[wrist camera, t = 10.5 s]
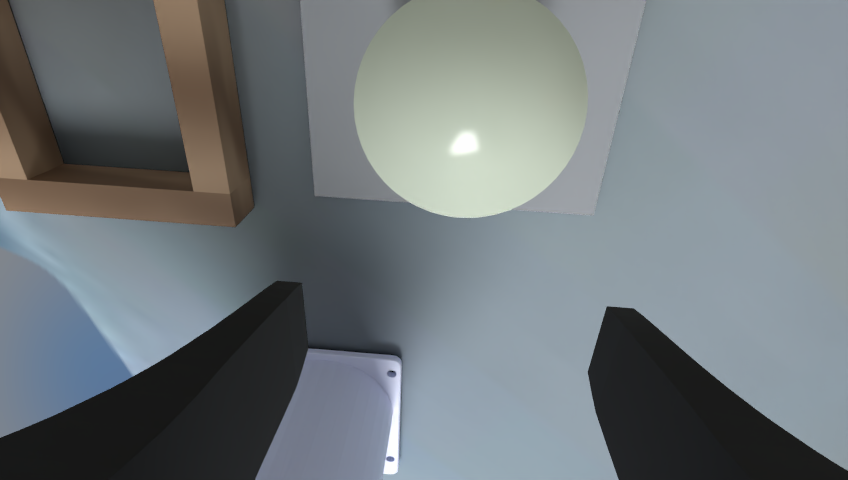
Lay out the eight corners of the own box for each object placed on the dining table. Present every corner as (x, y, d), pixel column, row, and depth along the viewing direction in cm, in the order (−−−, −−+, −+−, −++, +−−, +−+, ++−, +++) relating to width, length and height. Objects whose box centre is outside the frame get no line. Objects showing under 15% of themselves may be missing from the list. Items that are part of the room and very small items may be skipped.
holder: (254, 207, 21) (235, 227, 19) (43, 192, 21) (6, 210, 20) (217, -51, 16) (187, -56, 14) (-54, -64, 17) (-115, -70, 15)
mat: (590, 210, 20) (593, 215, 20) (317, 191, 20) (314, 196, 20) (675, -142, 14) (682, -146, 14) (293, -157, 15) (287, -162, 14)
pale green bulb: (523, 131, 18) (558, 227, 11) (396, 119, 18) (354, 207, 11) (550, -14, 16) (617, -7, 9) (402, -26, 16) (352, -29, 9)
